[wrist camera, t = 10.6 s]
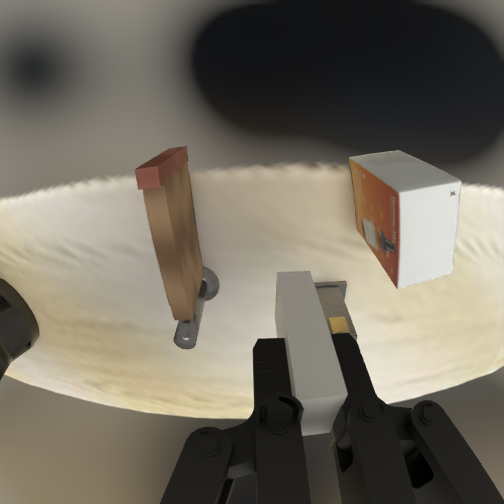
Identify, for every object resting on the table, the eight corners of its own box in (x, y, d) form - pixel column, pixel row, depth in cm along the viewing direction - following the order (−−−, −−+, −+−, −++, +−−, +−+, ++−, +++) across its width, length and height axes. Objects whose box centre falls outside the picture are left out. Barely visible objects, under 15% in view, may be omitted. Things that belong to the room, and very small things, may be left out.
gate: (204, 272, 31) (190, 326, 23) (185, 273, 31) (167, 326, 23) (186, 146, 24) (157, 166, 17) (165, 148, 24) (128, 170, 17)
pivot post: (184, 298, 33) (167, 356, 25) (177, 267, 31) (154, 323, 23) (221, 298, 33) (212, 358, 25) (216, 265, 31) (205, 323, 23)
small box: (347, 155, 25) (397, 188, 16) (398, 148, 24) (463, 178, 15) (355, 231, 29) (395, 292, 19) (402, 221, 28) (453, 275, 19)
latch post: (301, 305, 33) (312, 361, 26) (303, 282, 32) (315, 337, 24) (342, 302, 33) (361, 355, 26) (345, 280, 31) (368, 332, 24)
